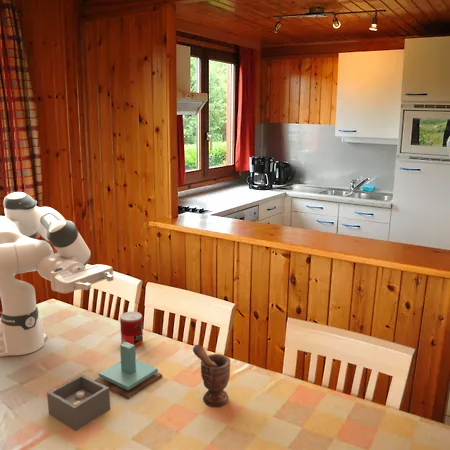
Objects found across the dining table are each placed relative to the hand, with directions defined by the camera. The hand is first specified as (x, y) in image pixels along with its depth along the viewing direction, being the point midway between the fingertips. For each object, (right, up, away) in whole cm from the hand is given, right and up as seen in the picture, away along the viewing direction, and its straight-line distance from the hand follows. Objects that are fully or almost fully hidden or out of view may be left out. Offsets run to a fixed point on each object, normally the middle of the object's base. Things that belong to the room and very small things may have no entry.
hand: (100, 282), depth 155 cm
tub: (-2, -35, -16) cm, 39 cm away
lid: (+9, -30, 0) cm, 31 cm away
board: (+9, -31, 0) cm, 32 cm away
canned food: (+6, -25, +24) cm, 35 cm away
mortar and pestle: (+36, -34, -11) cm, 51 cm away
